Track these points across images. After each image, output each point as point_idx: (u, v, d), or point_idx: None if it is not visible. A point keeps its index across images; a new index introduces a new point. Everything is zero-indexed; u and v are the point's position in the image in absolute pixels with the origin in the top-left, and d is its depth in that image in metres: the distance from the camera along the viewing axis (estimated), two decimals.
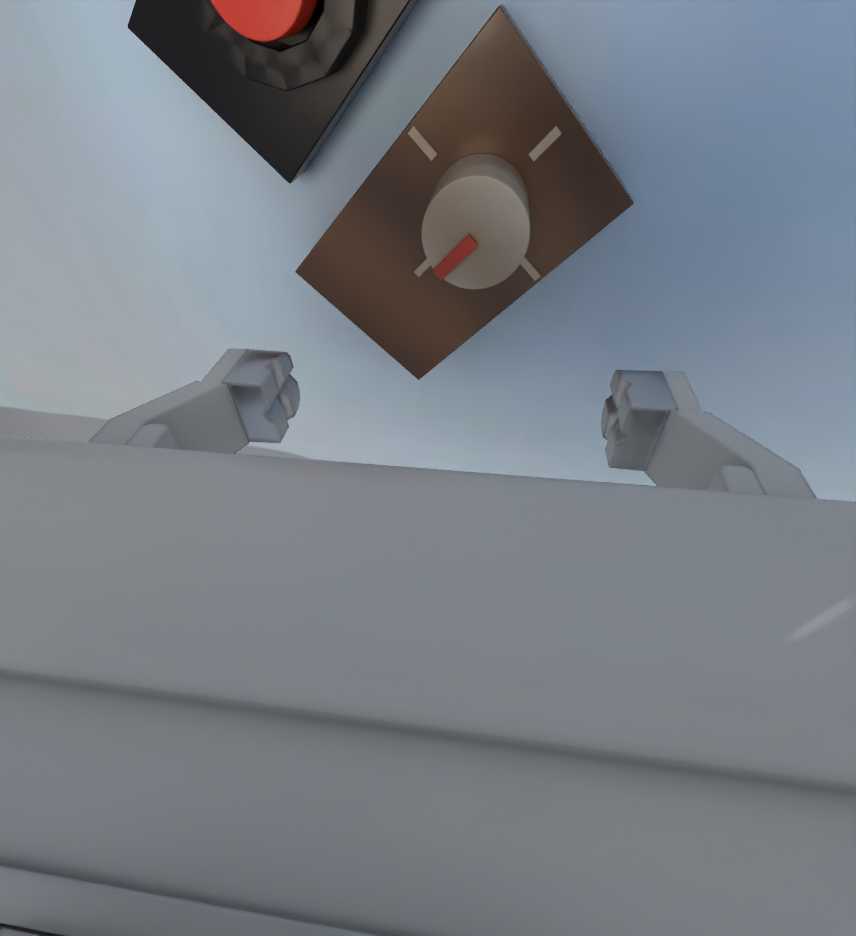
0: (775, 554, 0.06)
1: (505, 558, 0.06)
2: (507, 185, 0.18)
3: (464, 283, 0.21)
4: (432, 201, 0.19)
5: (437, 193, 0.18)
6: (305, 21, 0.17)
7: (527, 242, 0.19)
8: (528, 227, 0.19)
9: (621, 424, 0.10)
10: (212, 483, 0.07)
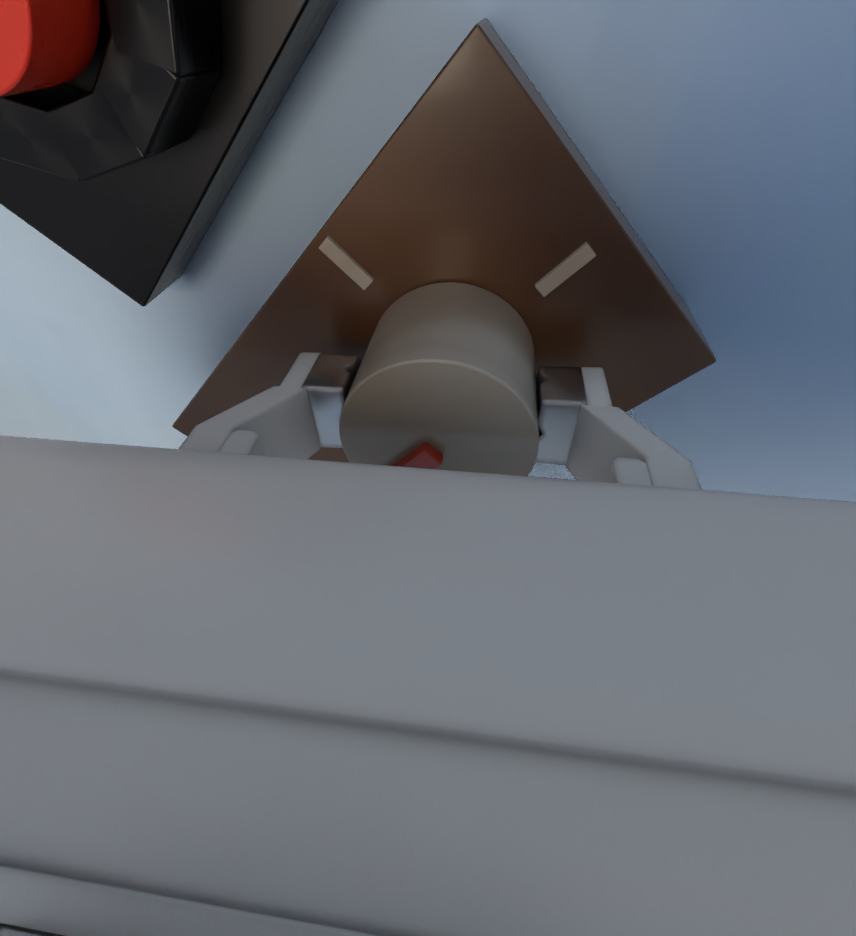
0: (775, 554, 0.06)
1: (504, 558, 0.06)
2: (495, 376, 0.09)
3: None
4: (353, 394, 0.10)
5: (361, 382, 0.10)
6: (79, 55, 0.08)
7: (534, 458, 0.10)
8: (536, 438, 0.10)
9: None
10: (212, 483, 0.07)
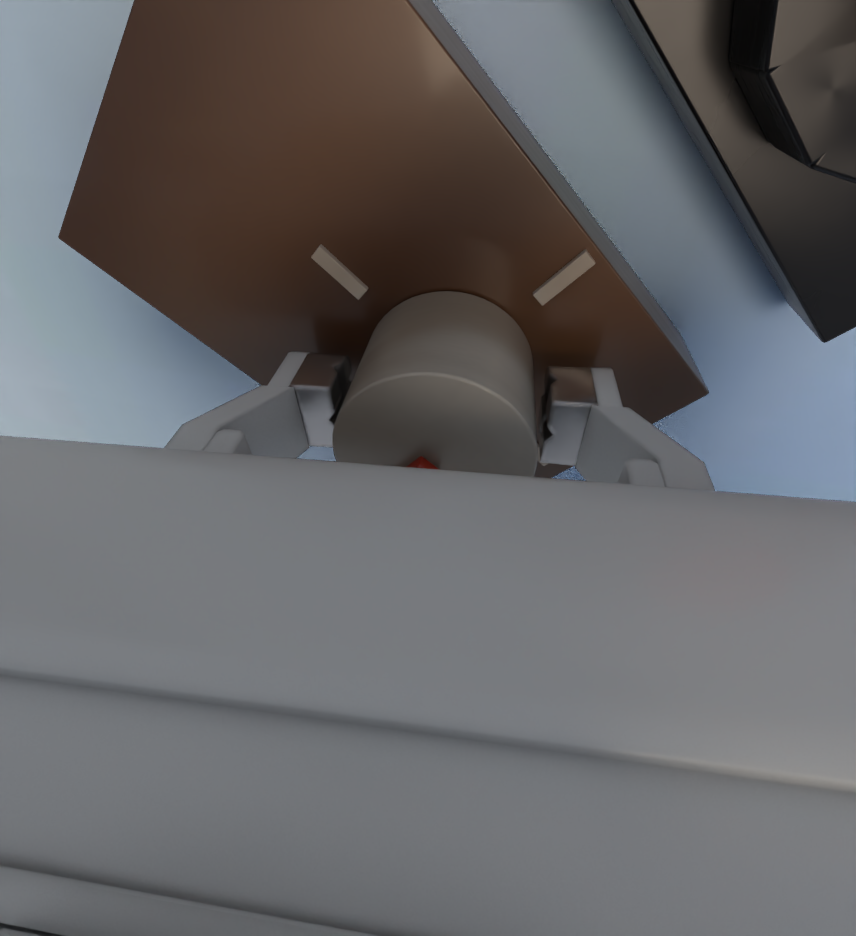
0: (775, 554, 0.06)
1: (505, 558, 0.06)
2: (490, 389, 0.09)
3: None
4: (345, 408, 0.10)
5: (353, 396, 0.09)
6: None
7: (532, 472, 0.10)
8: (534, 452, 0.10)
9: (547, 419, 0.11)
10: (212, 483, 0.07)
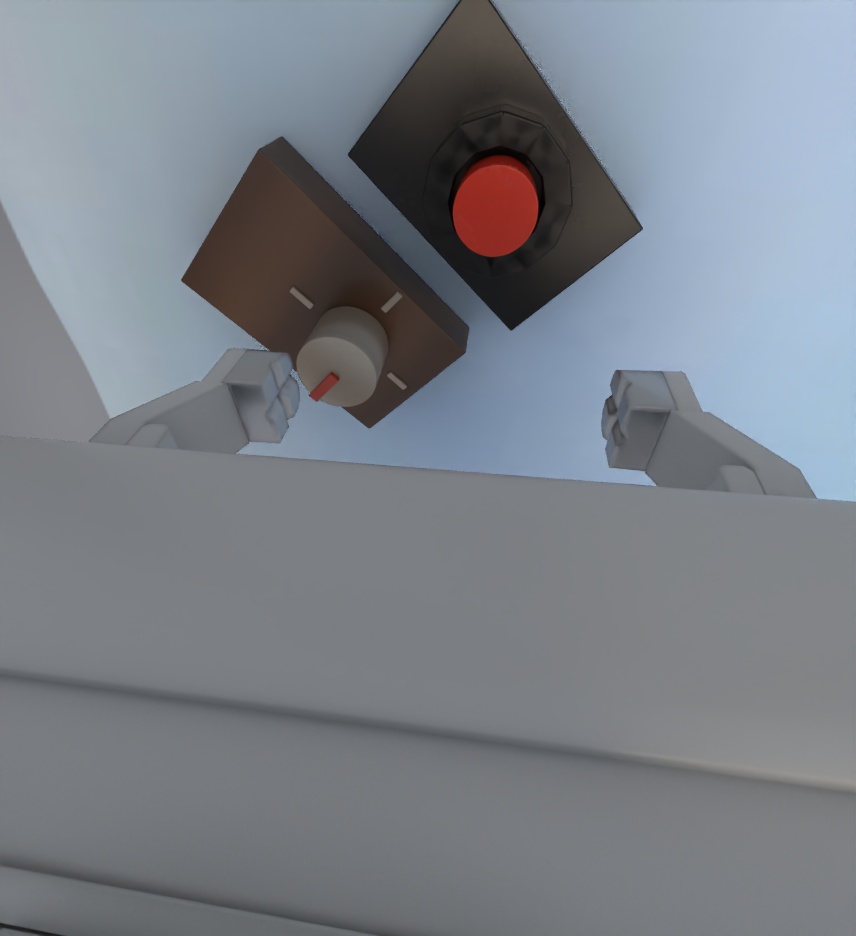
0: (775, 554, 0.06)
1: (505, 558, 0.06)
2: (352, 343, 0.24)
3: (335, 402, 0.27)
4: (300, 351, 0.25)
5: (303, 346, 0.25)
6: None
7: (375, 378, 0.26)
8: (373, 369, 0.25)
9: (621, 424, 0.10)
10: (212, 483, 0.07)
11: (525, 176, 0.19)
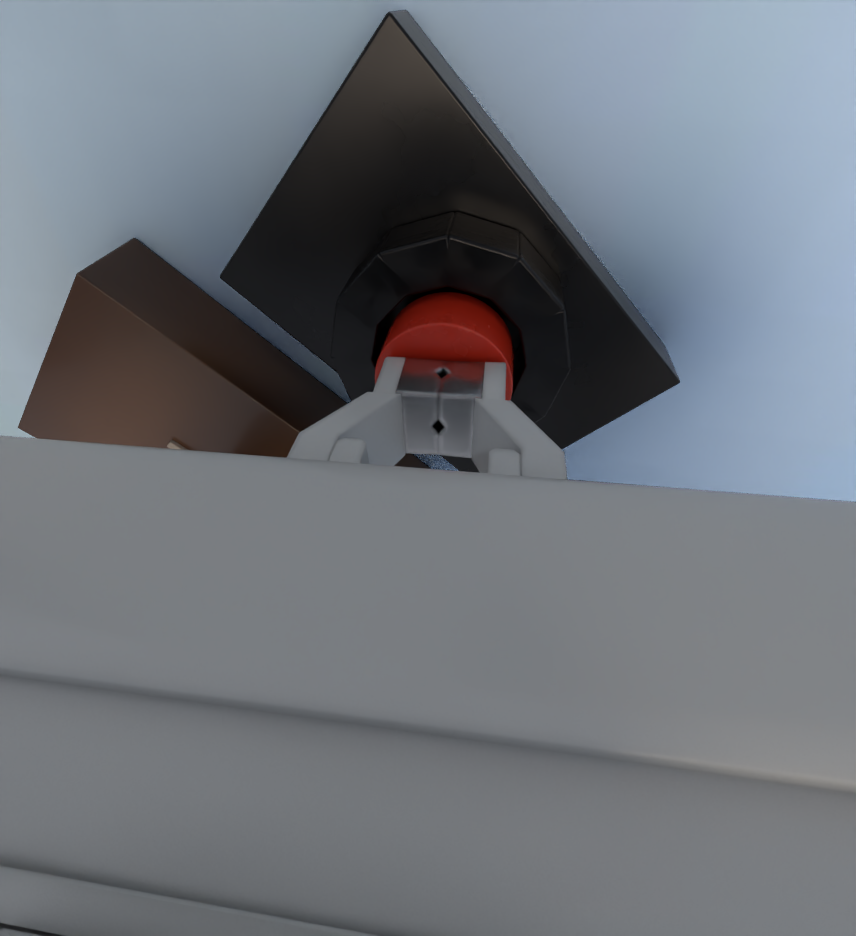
0: (775, 554, 0.06)
1: (505, 558, 0.06)
2: None
3: None
4: None
5: None
6: None
7: None
8: None
9: None
10: (212, 483, 0.07)
11: (488, 340, 0.11)
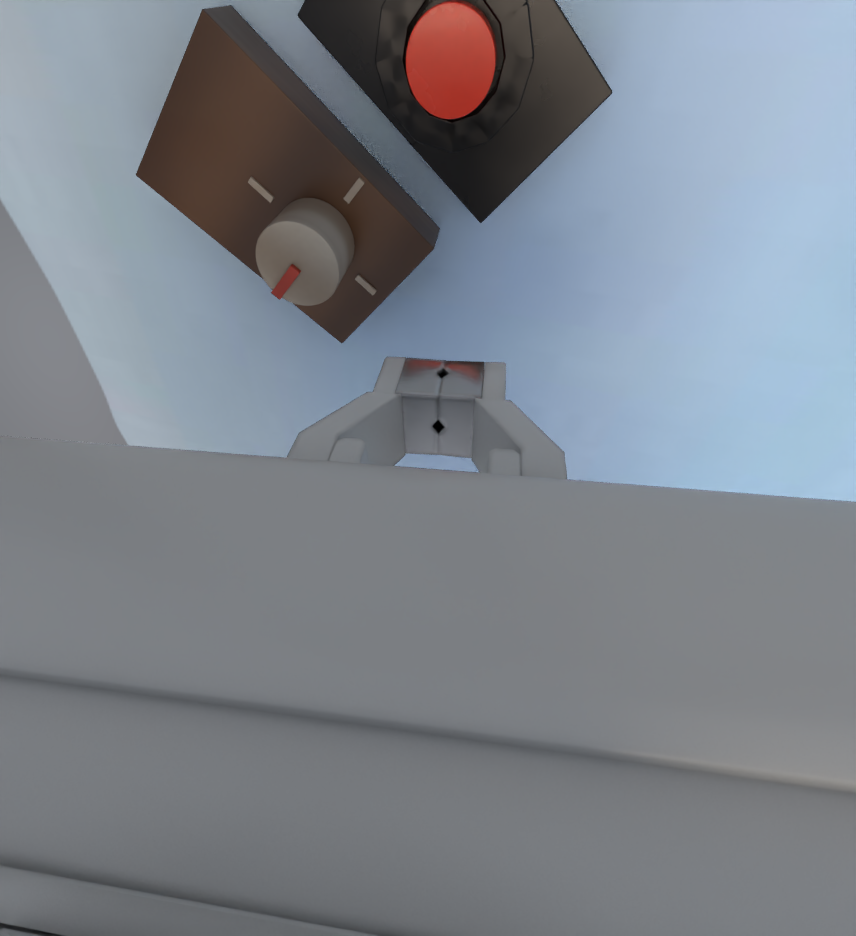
0: (775, 554, 0.06)
1: (505, 558, 0.06)
2: (310, 228, 0.23)
3: (299, 301, 0.26)
4: (258, 240, 0.24)
5: (261, 234, 0.24)
6: None
7: (337, 269, 0.25)
8: (335, 258, 0.24)
9: None
10: (212, 483, 0.07)
11: (479, 15, 0.18)
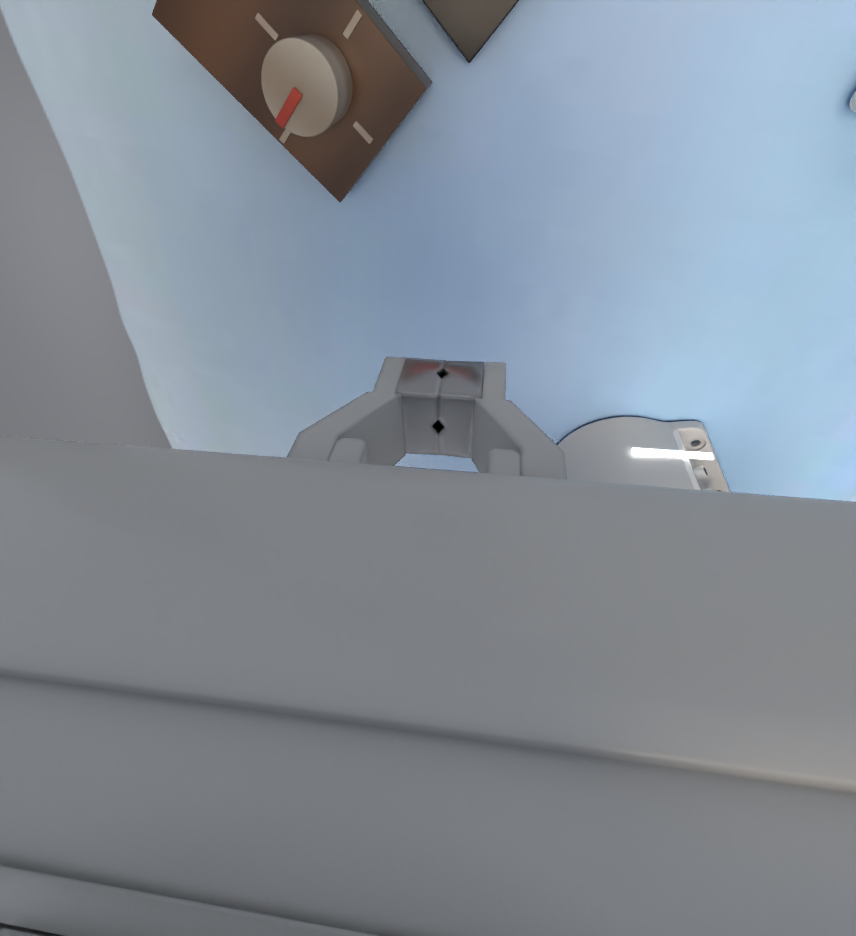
0: (775, 554, 0.06)
1: (505, 558, 0.06)
2: (312, 45, 0.25)
3: (300, 131, 0.28)
4: (264, 61, 0.26)
5: (266, 54, 0.26)
6: None
7: (336, 92, 0.27)
8: (334, 79, 0.26)
9: None
10: (212, 483, 0.07)
11: None
